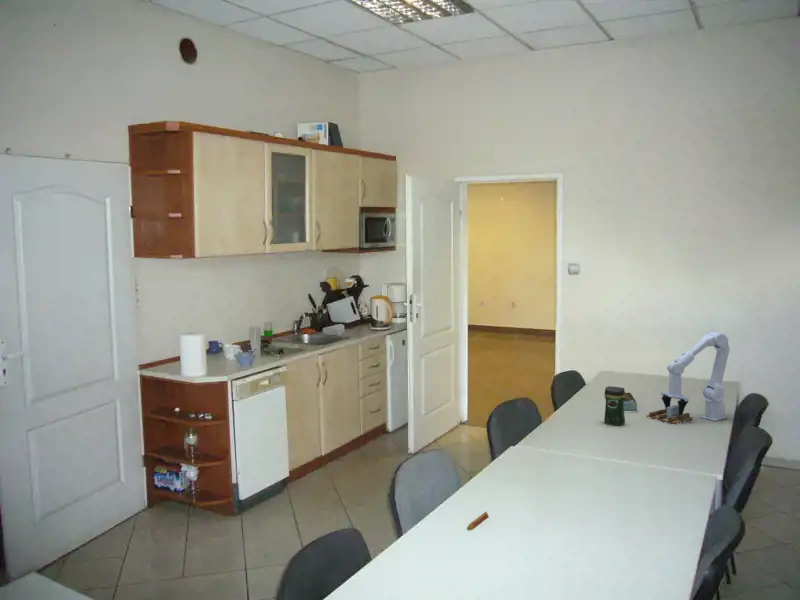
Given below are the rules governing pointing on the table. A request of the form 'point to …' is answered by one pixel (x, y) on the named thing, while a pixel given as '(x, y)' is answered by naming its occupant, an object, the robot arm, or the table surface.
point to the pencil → (478, 521)
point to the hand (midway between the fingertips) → (674, 412)
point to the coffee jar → (614, 405)
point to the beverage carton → (629, 403)
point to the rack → (662, 416)
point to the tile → (672, 411)
